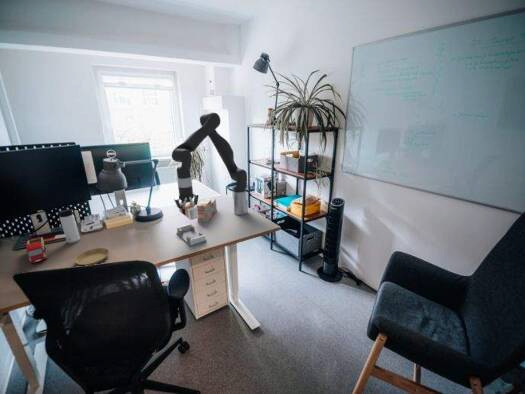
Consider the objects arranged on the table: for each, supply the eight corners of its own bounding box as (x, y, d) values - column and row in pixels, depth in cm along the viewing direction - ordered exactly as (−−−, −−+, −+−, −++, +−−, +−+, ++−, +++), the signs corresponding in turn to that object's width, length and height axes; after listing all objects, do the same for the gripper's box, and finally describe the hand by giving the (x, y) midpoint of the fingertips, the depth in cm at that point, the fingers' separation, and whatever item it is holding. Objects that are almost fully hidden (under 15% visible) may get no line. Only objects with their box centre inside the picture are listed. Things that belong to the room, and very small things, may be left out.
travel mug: (70, 245, 140) (60, 212, 134) (65, 242, 144) (55, 210, 137) (82, 240, 145) (73, 209, 139) (77, 237, 149) (68, 206, 142)
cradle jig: (191, 228, 158) (191, 223, 157) (206, 241, 143) (206, 235, 142) (176, 233, 152) (175, 227, 151) (190, 246, 137) (189, 240, 136)
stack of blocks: (209, 210, 188) (207, 194, 184) (216, 210, 188) (215, 195, 183) (197, 221, 169) (196, 205, 164) (206, 222, 168) (204, 205, 164)
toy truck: (31, 267, 121) (24, 249, 118) (31, 250, 135) (25, 234, 132) (48, 261, 125) (42, 244, 122) (47, 246, 140) (41, 230, 136)
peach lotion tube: (186, 209, 150) (185, 200, 148) (198, 217, 138) (197, 207, 136) (179, 211, 147) (178, 201, 145) (190, 220, 136) (189, 209, 134)
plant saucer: (94, 270, 118) (93, 265, 118) (68, 267, 121) (66, 262, 120) (116, 253, 132) (115, 249, 131) (92, 251, 135) (91, 246, 134)
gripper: (194, 181, 144) (197, 208, 150) (169, 186, 135) (173, 214, 141) (200, 184, 138) (202, 212, 144) (175, 189, 130) (178, 218, 136)
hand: (188, 213), depth 143 cm, fingers closed on peach lotion tube, 4 cm apart
